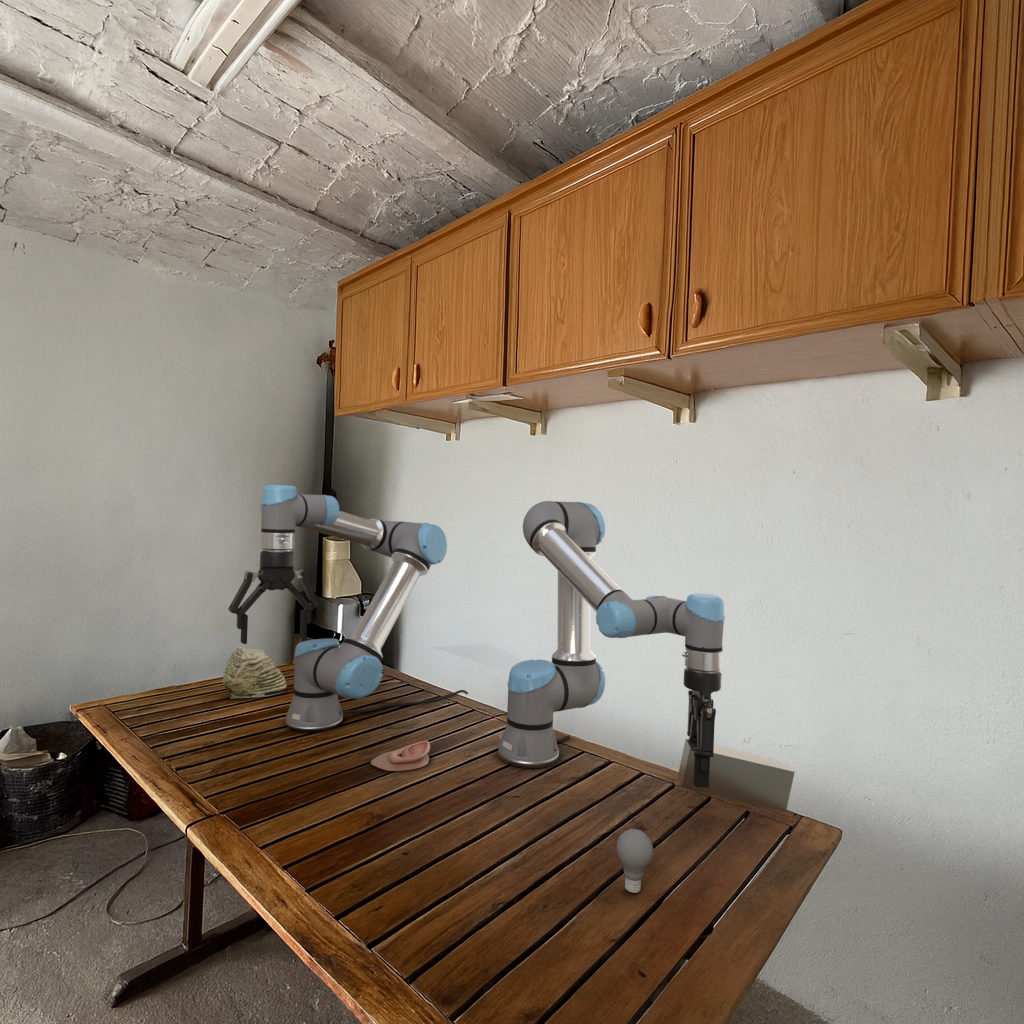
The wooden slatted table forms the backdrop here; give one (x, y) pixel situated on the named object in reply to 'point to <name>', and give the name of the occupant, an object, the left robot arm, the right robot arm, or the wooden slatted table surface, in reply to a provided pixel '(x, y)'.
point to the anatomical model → (404, 757)
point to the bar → (740, 776)
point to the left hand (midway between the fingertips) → (274, 640)
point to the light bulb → (634, 857)
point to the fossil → (252, 674)
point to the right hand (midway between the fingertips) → (698, 780)
